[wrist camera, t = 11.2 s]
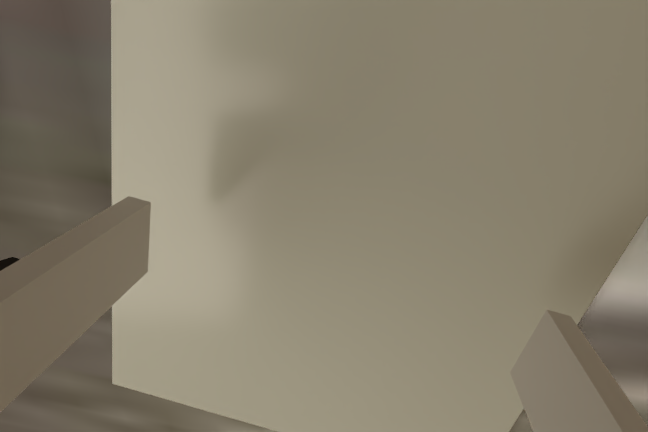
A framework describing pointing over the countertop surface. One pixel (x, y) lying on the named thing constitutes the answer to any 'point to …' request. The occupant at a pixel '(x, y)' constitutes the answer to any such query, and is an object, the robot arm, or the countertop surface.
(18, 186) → the countertop surface
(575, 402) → the robot arm
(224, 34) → the beige flat panel
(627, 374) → the countertop surface
